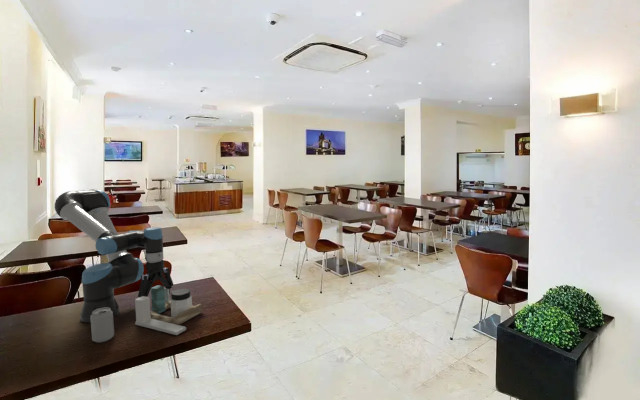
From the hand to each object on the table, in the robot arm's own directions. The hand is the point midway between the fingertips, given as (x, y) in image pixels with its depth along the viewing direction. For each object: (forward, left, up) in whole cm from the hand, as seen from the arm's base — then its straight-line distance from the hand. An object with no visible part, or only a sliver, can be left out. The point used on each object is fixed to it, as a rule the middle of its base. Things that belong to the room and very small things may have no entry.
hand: (157, 306), depth 156 cm
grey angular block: (+14, -11, -3) cm, 18 cm away
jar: (+15, +1, -3) cm, 15 cm away
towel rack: (+10, 0, -3) cm, 10 cm away
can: (0, -26, -3) cm, 27 cm away
